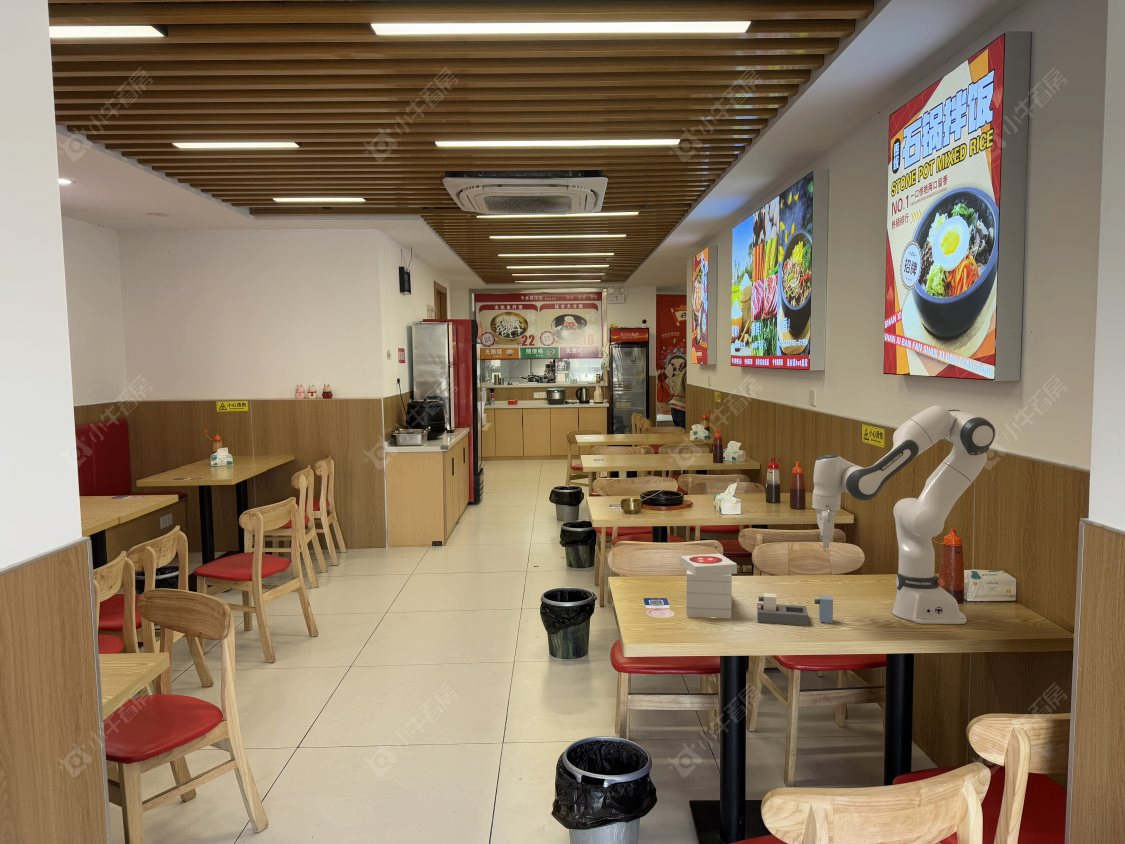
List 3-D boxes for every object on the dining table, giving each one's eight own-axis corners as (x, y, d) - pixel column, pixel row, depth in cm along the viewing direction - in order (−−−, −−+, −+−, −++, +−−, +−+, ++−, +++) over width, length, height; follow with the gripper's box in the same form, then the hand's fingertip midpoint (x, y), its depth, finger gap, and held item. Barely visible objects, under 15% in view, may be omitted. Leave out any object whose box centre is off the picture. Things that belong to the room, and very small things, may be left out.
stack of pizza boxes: (733, 595, 285) (733, 547, 283) (737, 621, 255) (737, 568, 254) (680, 592, 288) (680, 545, 287) (679, 618, 258) (679, 565, 257)
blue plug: (831, 619, 256) (831, 596, 256) (832, 623, 252) (833, 599, 252) (813, 618, 257) (814, 595, 257) (814, 622, 254) (815, 598, 253)
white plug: (775, 617, 259) (775, 593, 259) (775, 620, 256) (776, 597, 255) (758, 615, 261) (758, 592, 260) (758, 619, 257) (758, 596, 256)
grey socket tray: (805, 616, 260) (806, 604, 260) (808, 625, 250) (808, 614, 250) (757, 612, 264) (757, 601, 263) (757, 622, 254) (757, 610, 254)
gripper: (839, 509, 244) (837, 552, 245) (833, 498, 264) (831, 538, 265) (818, 508, 245) (817, 550, 246) (814, 497, 265) (812, 537, 266)
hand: (824, 544), depth 256 cm, fingers open, 8 cm apart
